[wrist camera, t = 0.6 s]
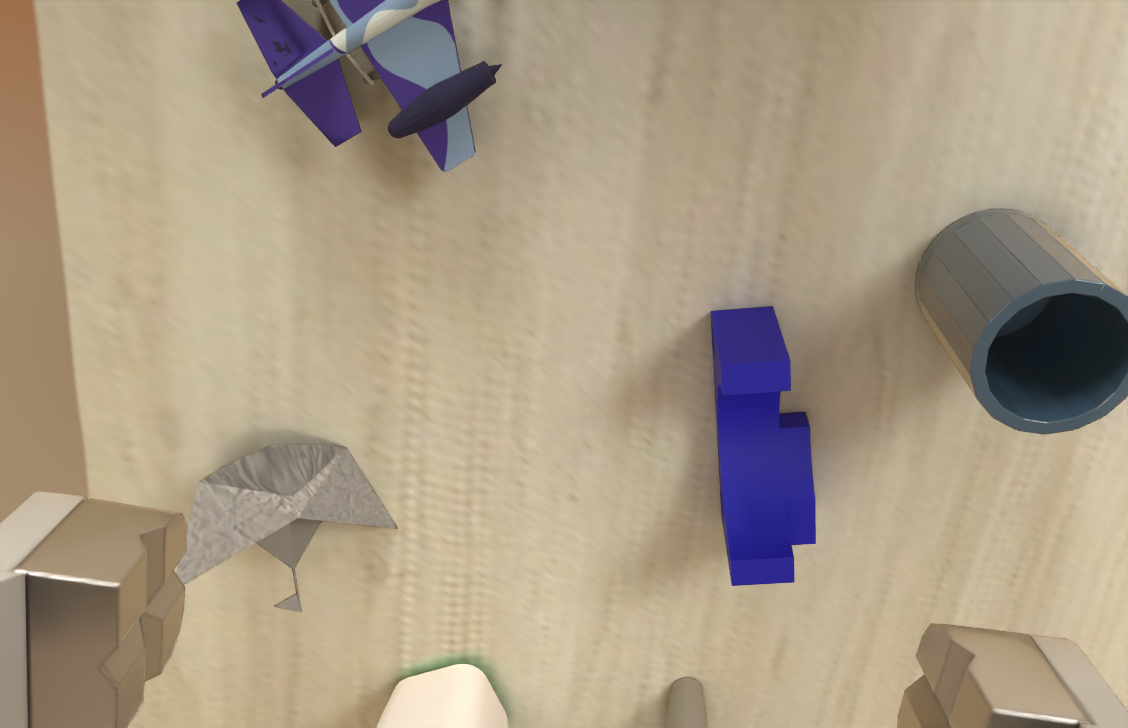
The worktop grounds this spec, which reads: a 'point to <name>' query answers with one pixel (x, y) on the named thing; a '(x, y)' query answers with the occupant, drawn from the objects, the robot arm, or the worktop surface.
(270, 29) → the toy airplane
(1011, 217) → the tumbler
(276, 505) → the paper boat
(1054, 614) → the worktop surface
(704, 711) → the elf figurine
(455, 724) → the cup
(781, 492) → the blue half clamp bracket
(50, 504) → the robot arm
